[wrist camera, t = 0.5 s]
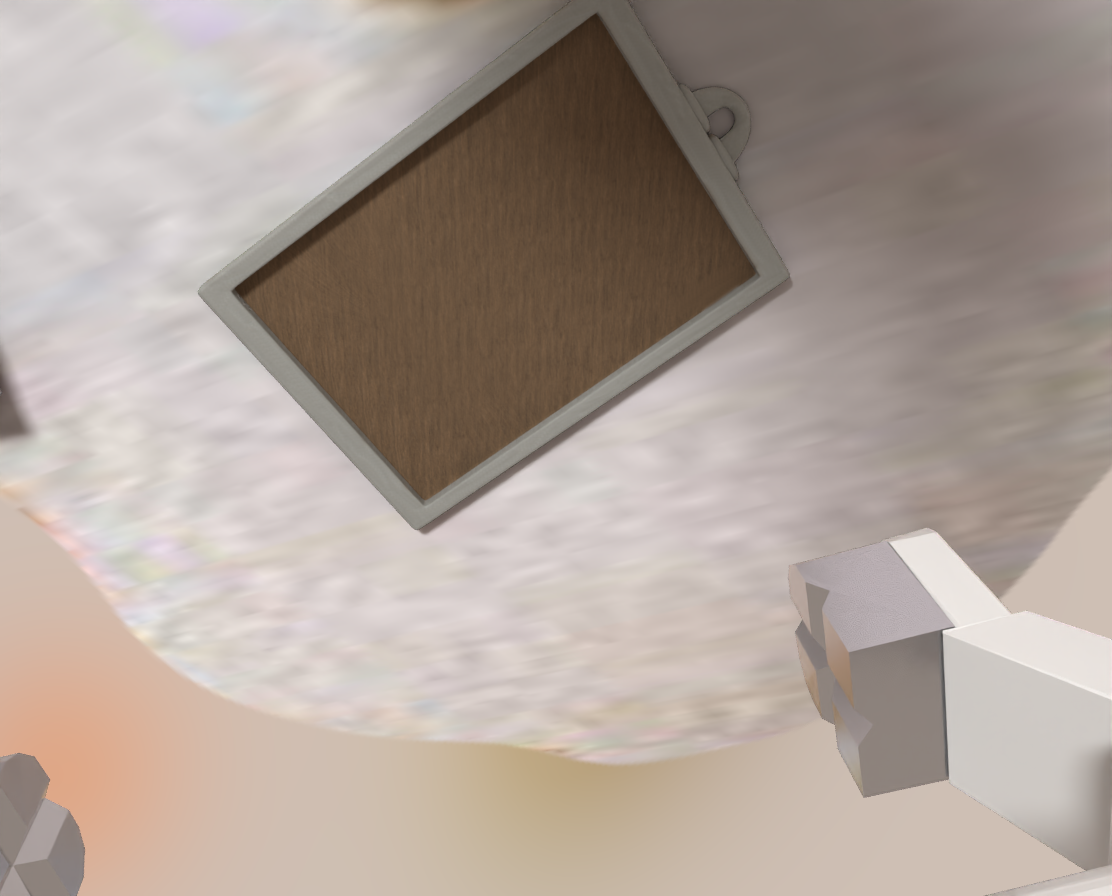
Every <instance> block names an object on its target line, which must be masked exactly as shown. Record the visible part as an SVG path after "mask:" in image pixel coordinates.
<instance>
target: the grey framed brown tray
mask: <svg viewBox="0 0 1112 896" xmlns="http://www.w3.org/2000/svg"><path fill="white" fill-rule="evenodd" d="M723 107H727V108H729V109H730V110H731V111H732V112H733V114H734V117H735V123H734V125H733V127H732V129H731V130H730V131H729V132H728V133H727V134H726V135H724V136H723V137H722V138H721V139H718V137H717V136H715V135H714V134H709V135H707V134H706V133H708V132H709V131H710V124H709V121H708V119H707V117H708V116H709V115H710V114H712V113H713V112H715V111H716V110H718V109H720V108H723ZM750 127H751V119H750V112H749V110H748V107H747V105H746V103H745V102H744V101H743V99H742V98H741V97H740V96H738V95H737V94H736V93H734V92H732V91H730V90H728V89H725V88H720V87H708V88H704V89H699V90H697V91H694V92H691V91H690V89H689V88H688V87H687V86H686V85H684V84H680V85H677V83H676V82H675V80H674V78H673V77H672V75H671V73H670V72H669V70H668V68H667V67H666V65H665V63H664V61H663V60H662V58H661V56H660V55H659V53H658V51H657V50H656V48H655V46H654V45H653V43H652V41H651V40H650V38H649V36H648V35H647V33H646V31H645V30H644V28H643V26H642V25H641V23H640V21H639V20H638V18H637V16H636V15H635V13H634V11H633V10H632V8H631V6H630V4H629V3H628V1H627V0H572V1H571V2H569V3H568V4H567V5H565V6H564V7H563V8H562V9H560V10H559V11H558V12H556V13H555V14H554V15H552V16H551V17H550V18H549V19H547V20H546V21H545V22H543V23H542V24H541V25H539V26H538V27H537V28H535V29H534V30H533V31H532V32H530V33H529V34H528V35H526V36H525V37H524V38H522V39H521V40H520V41H519V42H517V43H516V44H515V45H513V46H512V47H511V48H509V49H508V50H507V51H506V52H504V53H503V54H502V55H500V56H499V57H498V58H496V59H495V60H494V61H493V62H491V63H490V64H489V65H487V66H486V67H485V68H483V69H482V70H481V71H480V72H478V73H477V74H476V75H474V76H473V77H472V78H470V79H469V80H468V81H467V82H465V83H464V84H463V85H461V86H460V87H459V88H457V89H456V90H455V91H454V92H452V93H451V94H450V95H448V96H447V97H446V98H444V99H443V100H442V101H441V102H439V103H438V104H437V105H435V106H434V107H433V108H431V109H430V110H429V111H428V112H426V113H425V114H424V115H422V116H421V117H420V118H418V119H417V120H416V121H414V122H413V123H412V124H411V125H409V126H408V127H407V128H405V129H404V130H403V131H401V132H400V133H399V134H398V135H396V136H395V137H394V138H392V139H391V140H390V141H388V142H387V143H386V144H385V145H383V146H382V147H381V148H379V149H378V150H377V151H375V152H374V153H373V154H372V155H370V156H369V157H368V158H366V159H365V160H364V161H362V162H361V163H360V164H359V165H357V166H356V167H355V168H353V169H352V170H351V171H349V172H348V173H347V174H346V175H344V176H343V177H342V178H340V179H339V180H338V181H336V182H335V183H334V184H333V185H331V186H330V187H329V188H327V189H326V190H325V191H323V192H322V193H321V194H320V195H318V196H317V197H316V198H314V199H313V200H312V201H310V202H309V203H308V204H306V205H305V206H304V207H303V208H301V209H300V210H299V211H297V212H296V213H295V214H293V215H292V216H291V217H290V218H288V219H287V220H286V221H284V222H283V223H282V224H280V225H279V226H278V227H277V228H275V229H274V230H273V231H271V232H270V233H269V234H267V235H266V236H265V237H264V238H262V239H261V240H260V241H258V242H257V243H256V244H254V245H253V246H252V247H251V248H249V249H248V250H247V251H245V252H244V253H243V254H241V255H240V256H239V257H238V258H236V259H235V260H234V261H232V262H231V263H230V264H228V265H227V266H226V267H225V268H223V269H222V270H221V271H219V272H218V273H217V274H215V275H214V276H213V277H212V278H210V279H209V280H208V281H207V282H205V283H204V284H203V285H202V286H201V287H200V288H199V290H198V294H199V296H200V297H201V298H202V299H203V301H204V302H205V303H206V304H207V305H208V306H209V307H210V308H211V309H212V310H213V312H214V313H215V314H216V315H217V316H218V317H219V318H220V319H221V320H222V321H223V322H224V323H225V325H226V326H227V327H228V328H229V329H230V330H231V331H232V332H233V333H234V334H235V335H236V337H237V338H238V339H239V340H240V341H241V342H242V343H243V344H244V345H245V346H246V347H247V348H248V350H249V351H250V352H251V353H252V354H253V355H254V356H255V357H256V358H257V359H258V360H259V362H260V363H261V364H262V365H263V366H264V367H265V368H266V369H267V370H268V371H269V372H270V374H271V375H272V376H273V377H274V378H275V379H276V380H277V381H278V382H279V383H280V384H281V385H282V387H283V388H284V389H285V390H286V391H287V392H288V393H289V394H290V395H291V396H292V397H293V399H294V400H295V401H296V402H297V403H298V404H299V405H300V406H301V407H302V408H303V409H304V410H305V412H306V413H307V414H308V415H309V416H310V417H311V418H312V419H313V420H314V421H315V422H316V424H317V425H318V426H319V427H320V428H321V429H322V430H323V431H324V432H325V433H326V434H327V436H328V437H329V438H330V439H331V440H332V441H333V442H334V443H335V444H336V445H337V446H338V447H339V449H340V450H341V451H342V452H343V453H344V454H345V455H346V456H347V457H348V458H349V459H350V461H351V462H352V463H353V464H354V465H355V466H356V467H357V468H358V469H359V470H360V471H361V472H362V474H363V475H364V476H365V477H366V478H367V479H368V480H369V481H370V482H371V483H372V484H373V486H374V487H375V488H376V489H377V490H378V491H379V492H380V493H381V494H382V495H383V496H384V498H385V499H386V500H387V501H388V502H389V503H390V504H391V505H392V506H393V507H394V508H395V509H396V511H397V512H398V513H399V514H400V515H401V516H402V517H403V518H404V519H405V520H406V521H407V522H408V524H409V525H410V526H411V527H412V528H413V529H415V530H419V529H420V528H422V527H424V526H425V525H427V524H428V523H430V522H431V521H433V520H434V519H436V518H437V517H439V516H440V515H442V514H443V513H445V512H446V511H448V510H449V509H450V508H452V507H453V506H455V505H456V504H458V503H459V502H461V501H462V500H464V499H465V498H467V497H468V496H470V495H471V494H472V493H474V492H475V491H477V490H478V489H480V488H481V487H483V486H484V485H486V484H487V483H489V482H490V481H492V480H493V479H495V478H496V477H497V476H499V475H500V474H502V473H503V472H505V471H506V470H508V469H509V468H511V467H512V466H514V465H515V464H517V463H518V462H520V461H521V460H522V459H524V458H525V457H527V456H528V455H530V454H531V453H533V452H534V451H536V450H537V449H539V448H540V447H542V446H543V445H545V444H546V443H547V442H549V441H550V440H552V439H553V438H555V437H556V436H558V435H559V434H561V433H562V432H564V431H565V430H567V429H568V428H570V427H571V426H572V425H574V424H575V423H577V422H578V421H580V420H581V419H583V418H584V417H586V416H587V415H589V414H590V413H592V412H593V411H595V410H596V409H597V408H599V407H600V406H602V405H603V404H605V403H606V402H608V401H609V400H611V399H612V398H614V397H615V396H617V395H618V394H620V393H621V392H622V391H624V390H625V389H627V388H628V387H630V386H631V385H633V384H634V383H636V382H637V381H639V380H640V379H642V378H643V377H645V376H646V375H647V374H649V373H650V372H652V371H653V370H655V369H656V368H658V367H659V366H661V365H662V364H664V363H665V362H667V361H668V360H669V359H671V358H672V357H674V356H675V355H677V354H678V353H680V352H681V351H683V350H684V349H686V348H687V347H689V346H690V345H692V344H693V343H694V342H696V341H697V340H699V339H700V338H702V337H703V336H705V335H706V334H708V333H709V332H711V331H712V330H714V329H715V328H717V327H718V326H719V325H721V324H722V323H724V322H725V321H727V320H728V319H730V318H731V317H733V316H734V315H736V314H737V313H739V312H740V311H742V310H743V309H744V308H746V307H747V306H749V305H750V304H752V303H753V302H755V301H756V300H758V299H759V298H761V297H762V296H764V295H765V294H767V293H768V292H769V291H771V290H772V289H774V288H775V287H777V286H778V285H780V284H781V283H783V282H784V281H785V280H787V279H788V278H789V277H790V273H789V271H788V269H787V268H786V266H785V264H784V263H783V261H782V259H781V258H780V256H779V254H778V253H777V251H776V249H775V248H774V246H773V244H772V242H771V241H770V239H769V237H768V236H767V234H766V232H765V231H764V229H763V227H762V226H761V224H760V222H759V221H758V219H757V217H756V216H755V214H754V212H753V211H752V209H751V207H750V206H749V204H748V202H747V201H746V199H745V197H744V196H743V194H742V192H741V191H740V189H739V187H738V186H737V184H736V182H735V181H736V180H737V179H738V176H739V174H738V170H737V168H736V166H735V164H734V163H735V161H736V160H737V159H738V157H739V156H740V154H741V153H742V151H743V149H744V148H745V145H746V143H747V141H748V138H749V134H750Z"/></svg>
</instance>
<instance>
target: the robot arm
mask: <svg viewBox="0 0 1112 896" xmlns="http://www.w3.org/2000/svg"><path fill="white" fill-rule="evenodd" d="M788 580H789V588H790V597H791V600H792V601H793V603H794V605H795V607H796V609H797V610H798V612H799V614H800V616H801V618H802V621H801V623H800V625H799V626H798V628H797V630H796V631H795V634H796V641H797V647H798V653H799V659H800V662H801V666H802V670H803V674H804V677H805V681H806V684H807V687H808V689H809V692H810V694H811V697H812V699H813V701H814V703H815V705H816V707H817V709H818V711H819V713H820V715H821V717H822V719H824V720H826V721H828V722H830V723H832V724H834V725H835V729H836V737H837V745H838V750H839V752H840V754H841V756H842V758H843V760H844V761H845V763H846V765H847V767H848V769H849V771H850V773H851V775H852V777H853V778H854V780H855V782H856V784H857V786H858V788H859V790H860V791H861V793H862V795H863V797H870V796H874V795H879V794H883V793H888V792H892V791H897V790H902V789H906V788H911V787H916V786H920V785H925V784H929V783H934V782H939V781H943V780H948V779H949V783H950V784H951V785H953V786H954V787H956V788H957V789H959V790H960V791H962V792H964V793H965V794H967V795H968V796H970V797H972V798H973V799H975V800H976V801H978V802H979V803H981V804H983V805H984V806H986V807H987V808H989V809H990V810H992V811H993V812H995V813H997V814H998V815H1000V816H1001V817H1003V818H1004V819H1006V820H1007V821H1009V822H1011V823H1012V824H1014V825H1015V826H1017V827H1018V828H1020V829H1022V830H1023V831H1025V832H1026V833H1028V834H1029V835H1031V836H1032V837H1034V838H1036V839H1037V840H1039V841H1040V842H1042V843H1043V844H1045V845H1047V846H1048V847H1050V848H1051V849H1053V850H1054V851H1056V852H1058V853H1059V854H1061V855H1062V856H1064V857H1065V858H1067V859H1068V860H1070V861H1072V862H1073V863H1075V864H1076V865H1078V866H1079V867H1081V868H1083V869H1084V870H1086V871H1084V872H1080V873H1076V874H1072V875H1068V876H1063V877H1060V878H1055V879H1052V880H1047V881H1043V882H1039V883H1035V884H1031V885H1027V886H1023V887H1019V888H1015V889H1011V890H1007V891H1003V892H998V893H994V894H990V895H986V896H1112V639H1109V638H1107V637H1103V636H1100V635H1098V634H1095V633H1092V632H1089V631H1086V630H1083V629H1080V628H1077V627H1074V626H1071V625H1068V624H1065V623H1062V622H1059V621H1056V620H1053V619H1050V618H1047V617H1044V616H1041V615H1038V614H1035V613H1032V612H1030V611H1023V612H1018V613H1014V614H1012V613H1011V612H1010V611H1009V610H1008V609H1007V607H1005V605H1004V604H1003V603H1002V602H1001V601H1000V600H999V599H998V598H997V597H996V596H995V594H994V593H993V592H992V591H991V590H990V589H989V588H988V587H987V586H986V585H985V584H984V583H983V581H982V580H981V579H980V578H979V577H978V576H977V575H976V574H975V573H974V572H973V571H972V570H971V568H970V567H969V566H968V565H967V564H966V563H965V562H964V561H963V560H962V559H961V558H960V557H959V556H958V554H957V553H956V552H955V551H954V550H953V549H952V548H951V547H950V546H949V545H948V544H947V543H946V541H945V540H944V539H943V538H942V537H941V536H940V535H939V534H938V533H937V532H936V531H935V530H932V529H929V528H925V529H921V530H917V531H914V532H910V533H906V534H903V535H899V536H896V537H892V538H888V539H885V540H882V541H881V542H879V543H875V544H871V545H867V546H863V547H859V548H855V549H852V550H848V551H844V552H840V553H836V554H832V555H828V556H824V557H820V558H816V559H812V560H808V561H804V562H800V563H797V564H793V565H789V574H788ZM49 782H50V779H49V777H48V776H47V774H46V773H45V771H44V770H43V768H42V767H41V766H40V764H39V762H38V761H37V760H36V758H35V757H34V756H30V755H26V754H21V753H17V754H12V755H8V756H3V757H0V896H77V893H78V891H79V888H80V885H81V883H82V880H83V877H84V855H85V847H84V844H83V840H82V837H81V833H80V830H79V827H78V825H77V823H76V822H75V820H74V818H73V816H72V815H71V813H70V811H69V810H68V809H66V808H64V807H62V806H60V805H58V804H56V803H54V802H52V801H50V800H48V799H46V798H45V796H46V793H47V789H48V785H49Z"/></svg>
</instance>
